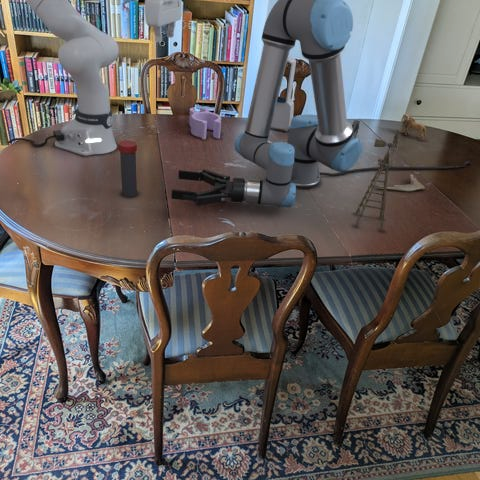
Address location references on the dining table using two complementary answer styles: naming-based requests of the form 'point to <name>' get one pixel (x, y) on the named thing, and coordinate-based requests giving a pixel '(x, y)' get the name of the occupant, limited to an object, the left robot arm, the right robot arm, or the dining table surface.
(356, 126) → the handheld gaming console
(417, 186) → the jawbone
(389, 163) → the miniature windmill
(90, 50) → the left robot arm
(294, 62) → the electronic device
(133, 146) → the lid
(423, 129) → the lion figurine
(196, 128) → the clip
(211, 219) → the dining table surface
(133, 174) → the dark grey bottle
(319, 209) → the dining table surface
